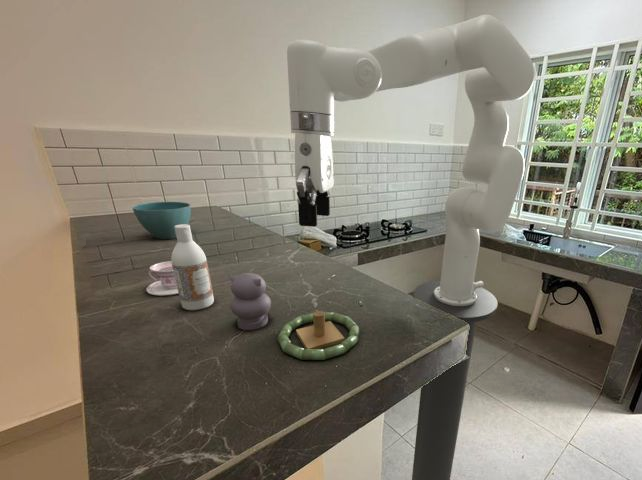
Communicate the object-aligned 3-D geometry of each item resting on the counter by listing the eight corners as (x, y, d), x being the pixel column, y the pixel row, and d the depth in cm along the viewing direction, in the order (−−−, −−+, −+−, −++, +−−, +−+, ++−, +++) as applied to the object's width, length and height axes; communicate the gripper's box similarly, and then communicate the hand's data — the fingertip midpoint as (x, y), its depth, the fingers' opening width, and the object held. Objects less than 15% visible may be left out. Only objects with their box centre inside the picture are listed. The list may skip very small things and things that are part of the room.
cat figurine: (279, 316, 77) (274, 269, 72) (261, 334, 70) (254, 283, 65) (246, 311, 78) (240, 265, 74) (225, 328, 71) (216, 278, 66)
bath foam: (194, 313, 76) (176, 231, 68) (175, 306, 79) (156, 226, 71) (220, 302, 82) (206, 225, 74) (202, 295, 84) (187, 220, 77)
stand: (330, 324, 75) (329, 301, 73) (344, 341, 69) (344, 317, 67) (296, 333, 71) (293, 309, 69) (307, 352, 65) (306, 327, 62)
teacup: (201, 276, 96) (197, 256, 93) (197, 292, 86) (192, 271, 83) (151, 281, 91) (146, 260, 88) (141, 299, 81) (135, 277, 78)
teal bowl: (134, 235, 128) (126, 204, 123) (186, 228, 141) (180, 199, 136) (149, 246, 117) (140, 212, 112) (203, 237, 130) (197, 206, 125)
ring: (340, 312, 81) (340, 305, 80) (372, 346, 68) (372, 338, 67) (270, 329, 72) (269, 321, 71) (292, 372, 59) (291, 363, 58)
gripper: (320, 124, 50) (323, 232, 56) (343, 129, 66) (343, 213, 72) (272, 120, 50) (280, 229, 56) (306, 126, 66) (309, 210, 72)
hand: (315, 220), depth 64 cm, fingers open, 9 cm apart
